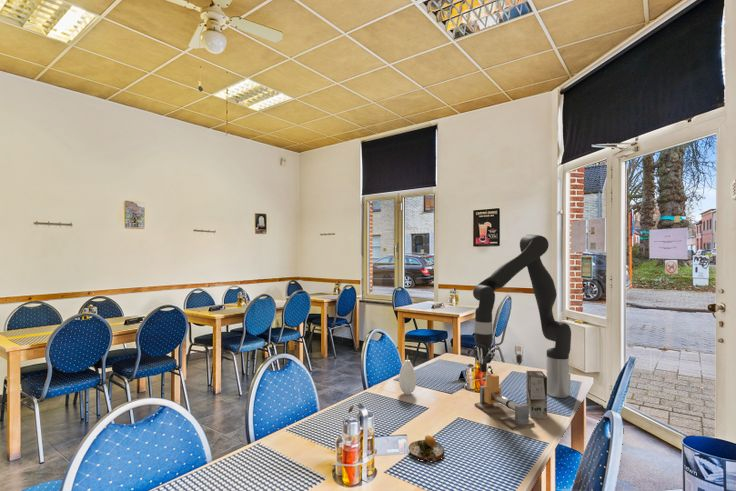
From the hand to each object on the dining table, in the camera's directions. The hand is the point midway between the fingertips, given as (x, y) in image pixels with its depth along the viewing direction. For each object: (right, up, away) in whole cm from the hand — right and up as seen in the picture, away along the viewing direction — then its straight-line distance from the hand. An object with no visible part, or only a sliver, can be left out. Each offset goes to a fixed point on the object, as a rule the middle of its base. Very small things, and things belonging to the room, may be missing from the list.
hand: (483, 371), depth 176 cm
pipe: (+5, -14, -12) cm, 19 cm away
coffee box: (+19, -14, -10) cm, 25 cm away
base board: (+5, -14, -12) cm, 19 cm away
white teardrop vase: (-31, -14, +11) cm, 36 cm away
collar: (+2, -11, -6) cm, 12 cm away
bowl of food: (-30, -14, -42) cm, 54 cm away
